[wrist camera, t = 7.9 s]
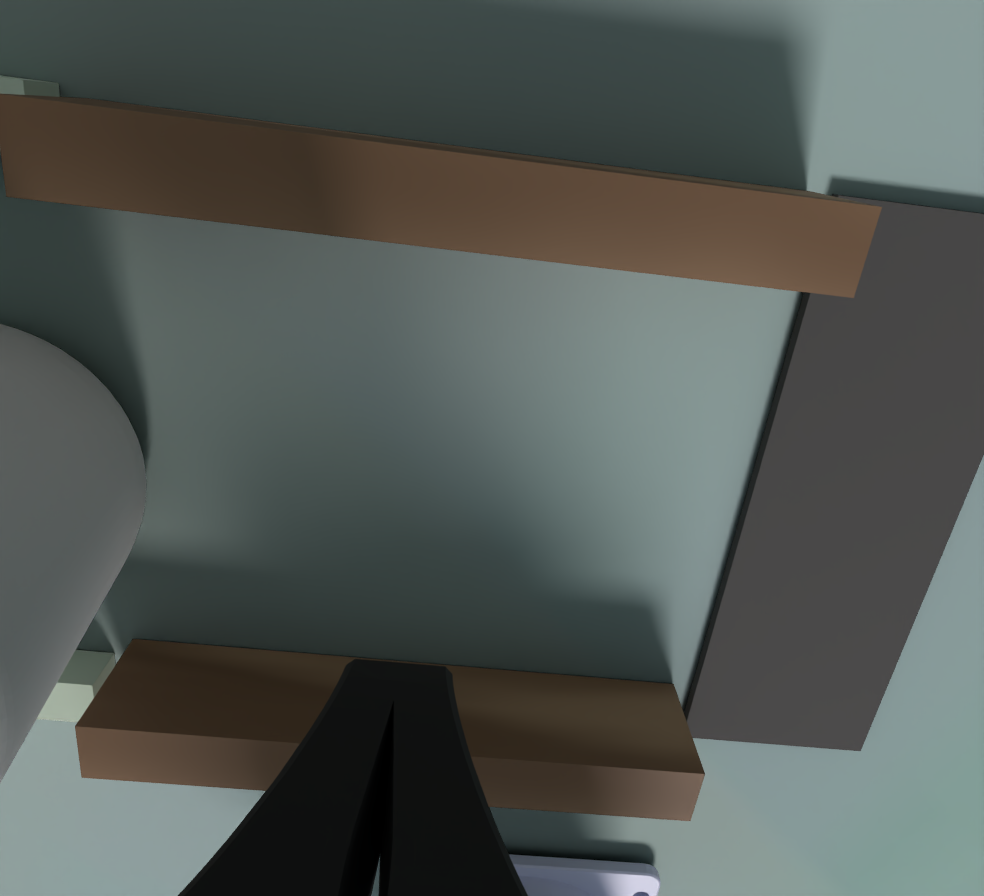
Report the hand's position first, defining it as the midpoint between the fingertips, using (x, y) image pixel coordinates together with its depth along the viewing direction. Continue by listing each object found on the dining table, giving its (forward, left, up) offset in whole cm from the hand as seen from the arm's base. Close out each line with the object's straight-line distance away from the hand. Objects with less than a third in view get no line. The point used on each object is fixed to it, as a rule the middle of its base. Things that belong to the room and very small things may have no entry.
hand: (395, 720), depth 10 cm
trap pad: (0, -10, -8) cm, 13 cm away
